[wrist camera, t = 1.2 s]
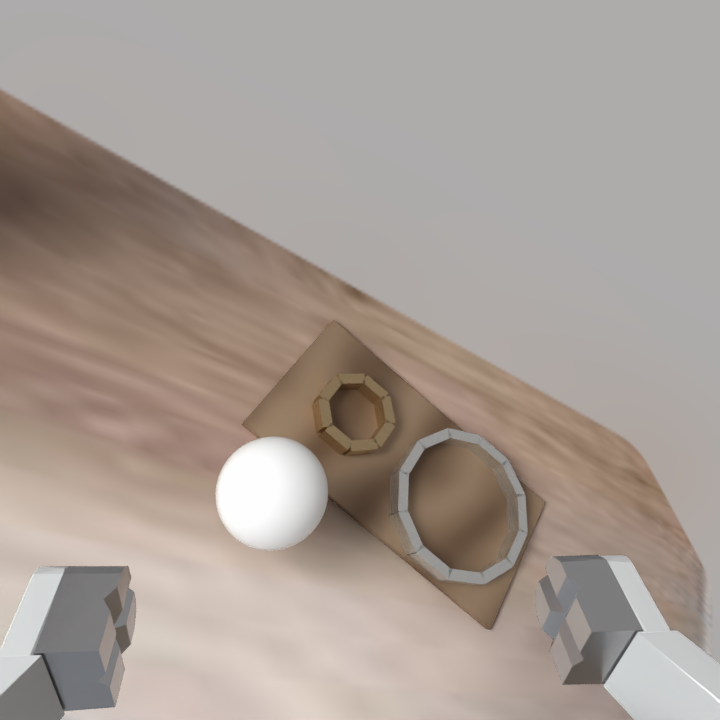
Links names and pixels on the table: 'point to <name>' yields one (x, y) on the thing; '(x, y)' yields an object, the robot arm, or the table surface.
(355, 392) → the socket board
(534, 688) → the table surface
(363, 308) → the table surface
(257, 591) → the table surface
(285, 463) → the lightbulb
